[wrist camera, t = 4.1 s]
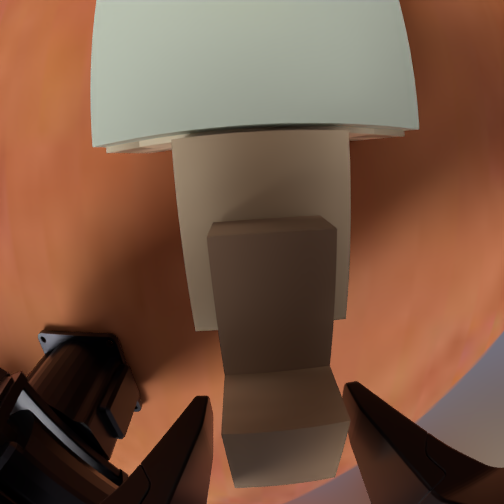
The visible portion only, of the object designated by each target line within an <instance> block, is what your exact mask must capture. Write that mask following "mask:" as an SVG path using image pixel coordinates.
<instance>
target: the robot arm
mask: <svg viewBox="0 0 504 504" xmlns="http://www.w3.org/2000/svg"><path fill="white" fill-rule="evenodd" d="M38 339H39V342H40V344H41V346H42V349H43V351H44V353H45V355H44V356H43V358H42V359H41V360H40V361H39V363H38V364H37V365H36V366H35V368H34V369H33V370H32V371H31V373H30V374H29V375H28V376H27V378H26V376H25V375H24V374H23V373H22V371H20V372H17V373H15V374H13V375H10V373H9V372H8V373H7V372H6V371H4V370H3V369H1V368H0V504H207V497H208V489H209V482H210V475H211V468H212V460H213V411H212V407H211V403H210V398H209V397H208V396H196V397H195V398H194V399H193V400H192V402H191V403H190V404H189V405H188V407H187V408H186V409H185V410H184V412H183V413H182V414H181V415H180V417H179V418H178V419H177V420H176V422H175V423H174V424H173V425H172V427H171V428H170V429H169V430H168V431H167V433H166V434H165V435H164V436H163V438H162V439H161V440H160V441H159V442H158V444H157V445H156V446H155V447H154V448H153V450H152V451H151V452H150V453H149V454H148V455H147V457H146V458H145V459H144V460H143V461H142V463H141V465H139V466H138V467H137V468H136V469H135V471H134V472H133V473H132V474H131V475H130V476H129V477H128V474H126V473H125V472H124V471H122V470H121V469H118V468H117V467H115V466H114V465H113V464H111V463H110V462H109V461H108V460H110V458H111V455H112V452H113V449H114V446H115V444H116V441H117V439H123V438H124V437H125V435H126V432H127V429H128V426H129V423H130V421H131V418H132V415H133V412H139V411H140V410H141V408H142V402H141V400H140V397H139V396H140V393H139V391H138V388H137V385H136V383H135V380H134V377H133V375H132V372H131V369H130V367H129V366H128V365H127V363H126V360H125V357H124V354H123V351H122V348H121V345H120V342H119V340H118V338H117V337H116V336H115V335H113V334H110V333H83V332H63V331H47V330H42V331H41V332H40V333H39V334H38ZM108 340H109V341H111V342H112V343H113V344H112V343H110V342H109V341H108ZM342 399H343V402H344V404H345V407H346V409H347V412H348V415H349V417H350V420H351V421H350V425H349V429H348V435H349V439H350V443H351V447H352V450H353V452H354V455H355V458H356V461H357V464H358V467H359V469H360V472H361V475H362V478H363V481H364V484H365V487H366V490H367V493H368V495H369V498H370V501H371V504H504V468H496V467H491V466H488V465H485V464H483V463H481V462H479V461H477V460H475V459H473V458H471V457H469V456H467V455H464V454H463V453H461V452H459V451H457V450H455V449H453V448H451V447H450V446H448V445H446V444H445V443H443V442H442V441H440V440H438V439H437V438H435V437H434V436H433V435H431V434H429V433H427V431H425V430H424V429H422V428H421V427H420V426H418V425H417V424H415V423H414V422H412V421H411V420H410V419H408V418H407V417H405V416H404V415H403V414H401V413H400V412H398V411H397V410H396V409H394V408H393V407H392V406H390V405H389V404H387V403H386V402H385V401H383V400H382V399H381V398H379V397H378V396H377V395H375V394H374V393H372V392H371V391H370V390H368V389H367V388H366V387H364V386H363V385H362V384H360V383H359V382H357V381H354V382H348V383H346V384H345V385H344V390H343V396H342Z"/></svg>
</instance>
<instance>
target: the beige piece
mask: <svg viewBox="0 0 504 504" xmlns="http://www.w3.org/2000/svg"><path fill="white" fill-rule="evenodd" d="M403 136H405V135H404V131H401V130H390V129H376V128H359V127H329V126H294V127H263V128H245V129H232V130H220V131H209V132H200V133H191V134H183V135H175V136H168V137H161V138H155V139H148V140H142V141H137V142H131V143H126V144H120V145H115V146H110V147H106V151H107V153H155V152H162V151H169V150H172V156H173V168H174V179H175V189H176V199H177V208H178V217H179V225H180V233H181V241H182V249H183V256H184V263H185V270H186V277H187V283H188V290H189V296H190V302H191V308H192V314H193V320H194V325H195V331H210V330H218V326H217V319H216V311H215V304H214V296H213V288H212V280H211V272H210V264H209V255H208V246H207V235H208V233H209V230H210V228H211V226H212V224H213V222H225V221H238V220H252V219H267V218H282V217H299V216H317V215H320V216H322V217H323V218H324V219H326V220H327V221H328V222H329V223H331V224H332V225H333V226H335V227H336V228H337V259H336V286H335V305H334V320H339V319H346V310H347V297H348V281H349V262H350V231H351V179H350V149H349V141H358V140H368V139H378V138H390V137H403Z"/></svg>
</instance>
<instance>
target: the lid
mask: <svg viewBox="0 0 504 504" xmlns="http://www.w3.org/2000/svg"><path fill="white" fill-rule="evenodd" d="M294 126H329V127H359V128H376V129H390V130H401V131H407V130H418V129H419V118H418V106H417V96H416V87H415V79H414V72H413V66H412V59H411V53H410V48H409V42H408V37H407V33H406V28H405V23H404V19H403V15H402V11H401V7H400V3H399V0H97V1H96V9H95V17H94V27H93V39H92V55H91V128H92V145H93V147H110V146H115V145H120V144H126V143H131V142H137V141H142V140H148V139H155V138H161V137H168V136H175V135H183V134H191V133H200V132H209V131H220V130H232V129H245V128H263V127H294Z"/></svg>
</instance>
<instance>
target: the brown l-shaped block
mask: <svg viewBox="0 0 504 504" xmlns="http://www.w3.org/2000/svg"><path fill="white" fill-rule="evenodd" d="M207 246H208V255H209V264H210V272H211V280H212V288H213V296H214V304H215V311H216V319H217V326H218V333H219V340H220V347H221V354H222V360H223V367H224V373H225V380H224V397H223V414H222V433H221V435H222V439H223V443H224V447H225V451H226V455H227V459H228V463H229V467H230V471H231V475H232V478H233V482H234V486H235V488H248V487H265V486H277V485H287V484H296V483H303V482H310V481H317V480H323V479H328V478H333V477H335V475H336V472H337V469H338V465H339V462H340V459H341V455H342V452H343V448H344V444H345V441H346V437H347V433H348V429H349V425H350V421H351V420H350V417H349V415H348V412H347V409H346V407H345V404H344V402H343V399H342V396H341V394H340V391H339V388H338V386H337V383H336V381H335V378H334V375H333V373H332V370H331V368H330V357H331V346H332V334H333V321H334V305H335V286H336V259H337V228H336V227H335V226H333V225H332V224H331V223H329V222H328V221H327V220H326V219H324V218H323V217H322V216H320V215H317V216H299V217H282V218H267V219H252V220H238V221H225V222H213V224H212V226H211V228H210V230H209V233H208V235H207Z"/></svg>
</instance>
